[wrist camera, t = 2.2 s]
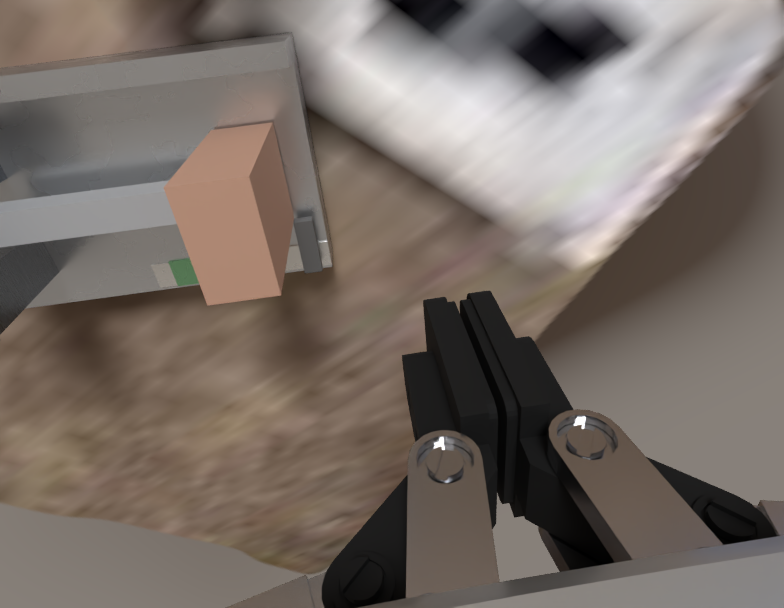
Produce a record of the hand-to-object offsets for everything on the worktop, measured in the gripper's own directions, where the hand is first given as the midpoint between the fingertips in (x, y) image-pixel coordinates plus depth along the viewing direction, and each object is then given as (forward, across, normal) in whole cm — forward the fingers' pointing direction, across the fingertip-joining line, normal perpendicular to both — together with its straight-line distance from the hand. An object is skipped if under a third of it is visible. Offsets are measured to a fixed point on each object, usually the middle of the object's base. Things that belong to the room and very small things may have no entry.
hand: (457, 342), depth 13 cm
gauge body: (+18, +13, 0) cm, 23 cm away
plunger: (+16, +12, +1) cm, 20 cm away
